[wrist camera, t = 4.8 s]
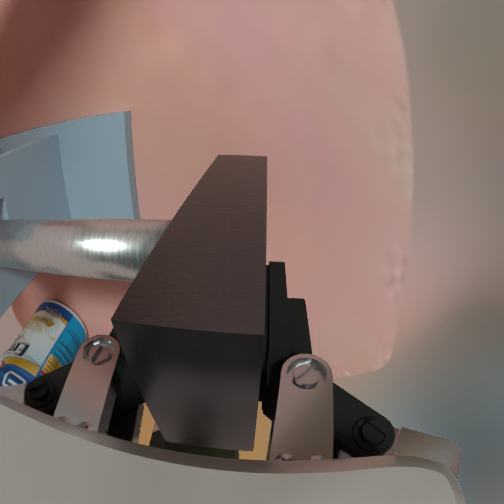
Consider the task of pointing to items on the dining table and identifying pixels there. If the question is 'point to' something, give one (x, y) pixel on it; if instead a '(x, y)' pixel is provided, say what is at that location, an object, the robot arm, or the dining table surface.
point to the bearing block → (66, 179)
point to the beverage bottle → (43, 344)
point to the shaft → (178, 297)
